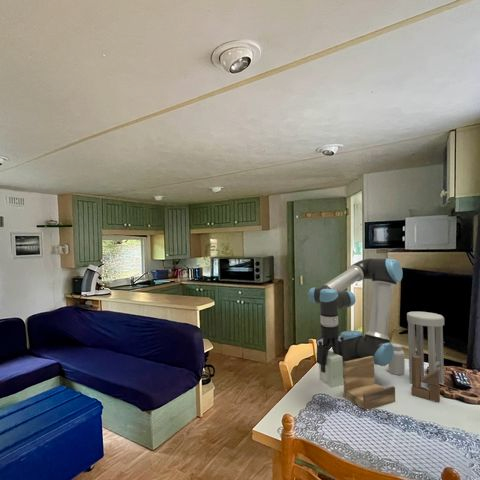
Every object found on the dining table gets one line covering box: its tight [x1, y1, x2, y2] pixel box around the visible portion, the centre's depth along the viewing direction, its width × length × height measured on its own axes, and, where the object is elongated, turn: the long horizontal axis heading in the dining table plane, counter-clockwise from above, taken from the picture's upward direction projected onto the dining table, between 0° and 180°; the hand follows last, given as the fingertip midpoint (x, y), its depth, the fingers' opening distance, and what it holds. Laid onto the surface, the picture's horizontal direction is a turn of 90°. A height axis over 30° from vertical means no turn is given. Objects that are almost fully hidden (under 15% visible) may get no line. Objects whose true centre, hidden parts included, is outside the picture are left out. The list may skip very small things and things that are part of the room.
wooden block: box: [410, 354, 441, 403], centre depth 133 cm, size 4×11×18 cm, turn 51°
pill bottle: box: [387, 343, 406, 376], centre depth 160 cm, size 8×8×15 cm
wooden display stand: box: [343, 356, 396, 411], centre depth 131 cm, size 13×18×16 cm
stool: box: [406, 311, 445, 385], centre depth 146 cm, size 16×16×35 cm
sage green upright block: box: [318, 350, 344, 389], centre depth 126 cm, size 8×6×12 cm
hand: (331, 377), depth 126 cm, fingers closed on sage green upright block, 6 cm apart
